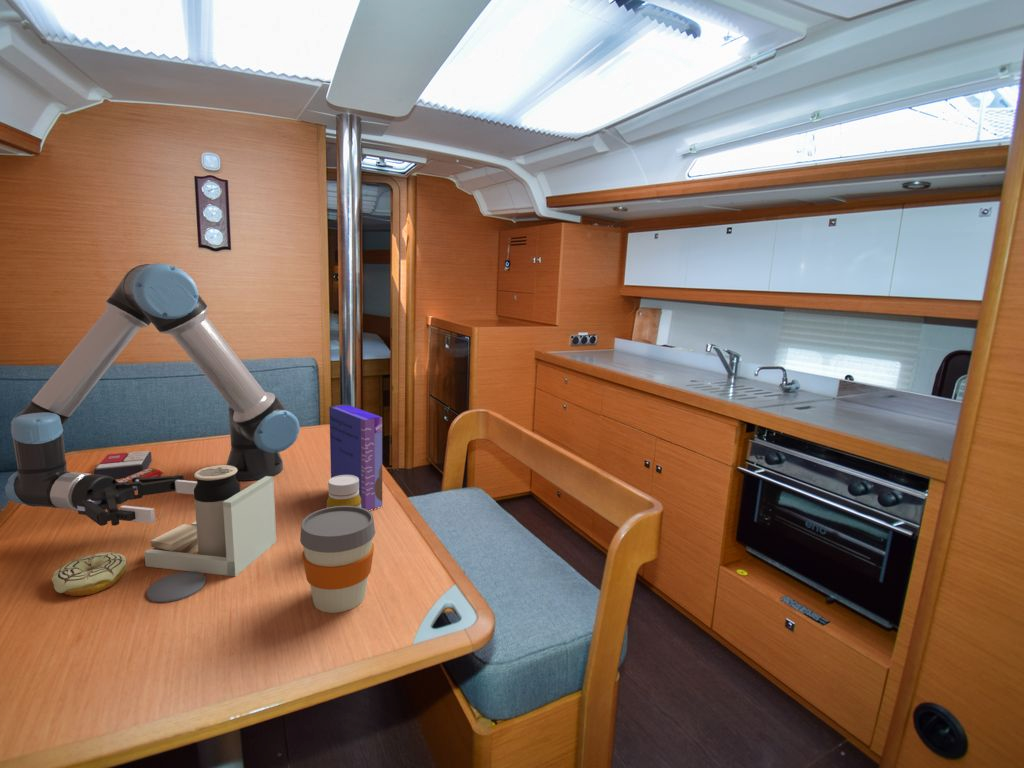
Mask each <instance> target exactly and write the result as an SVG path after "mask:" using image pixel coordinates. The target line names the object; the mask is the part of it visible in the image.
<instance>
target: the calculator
mask: <svg viewBox="0 0 1024 768" xmlns="http://www.w3.org/2000/svg"><path fill="white" fill-rule="evenodd" d="M152 459H153V458H152V452H151V451H149V450H143V451H141V450H140V451H132V452H131V451H130V452H129V453H128V452H119V453H108V454H107V455H106V456H105V457H104V458H103V459H102V460H101V461H100V462H99V464H98V465H96V467H95V468H94V469H93V474H97V475H107V476H110V477H112V478H114V479H115V480H121V478H122V479H123V478H126V477H128V476H131V475H133V474H136V473H138V472H141V471H143V470H145V469H148V468H150V465H151V462H152V461H153V460H152Z"/></svg>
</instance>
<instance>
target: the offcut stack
mask: <svg viewBox="0 0 1024 768" xmlns="http://www.w3.org/2000/svg"><path fill="white" fill-rule="evenodd" d="M150 546H151V548H152V549H153V550H162V551H171V552H181V553H190V554H195V553H196V552H197V551H198V540H197V527H196V526H191V524H186V523H185V524H184V523H183V524H180V525H179V526H177V527H175V528H172V529H170V530H169V531H167V532H165V533H163V534H161V535H159V536H156V537H155V538H153V539H151V540H150Z"/></svg>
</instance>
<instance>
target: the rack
mask: <svg viewBox="0 0 1024 768" xmlns="http://www.w3.org/2000/svg"><path fill="white" fill-rule="evenodd" d="M274 485H275V484H274V476H265V477H264V478H262V479H258V480H257V481H255V482H254V483H252V484H250V485H249V486H248V487H246V488H244V489H241V490H240V492H239V493H237V494H235V495H234V496H232V497H230V498H229V499H227V500H225V501H224V502H223V511H224V527H225V542H226V557H217V556H208V555H199V553H193V554H190V553H181V552H171V551H162V550H153V548H151V549H150V548H149V549H147V550H146V551H144V553H143V554H144V562H145V564H144V565H145V567H149V568H157V569H158V568H159V569H166V570H176V571H182V572H199V573H201V574H211V575H217V576H218V575H220V576H228V577H236V576H238V575H239V574H241V572H242V571H244V570H245V569H246V568H247V567H249V566H250V565H251V564H252V563H253V562H255V561H256V560H257V559H258V558H259V557H260V556H262V555H263V554H264V553H265V552H266V551H268V550H269V549H270V548H271V547H273V546H274V545H275V544H277V532H276V531H277V529H276V528H277V527H276V526H277V525H276V507H275V491H274V490H275V486H274ZM190 525H191V526H196V520H194V522H191V523H190Z"/></svg>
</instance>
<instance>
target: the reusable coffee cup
mask: <svg viewBox="0 0 1024 768" xmlns="http://www.w3.org/2000/svg"><path fill="white" fill-rule="evenodd" d="M300 526H301V528H300V536H299V540H300V544H301V545H302V547H303V551H302V554H301V555H302V556H301V557H302V562H303V566H304V567H303V568H304V573H305V576H306V577H305V578H306V582H307V583H308V584H309V585H310V590H311V596H312V602H313V603H312V604H313V606H314V607H315V608H316V609H317V610H319V611H321V612H324V613H327V614H328V613H330V614H331V613H333V614H335V613H336V614H337V613H338V614H339V613H343V612H347V611H350V610H353V609H354V608H357V607H358V606H359V605H361V603H362V602H363V601H364V600H365V598H366V594H367V586H368V579H369V578H368V577H369V575H370V574H371V571H372V566H373V556H374V549H375V546H374V543H373V538H374V537H375V534H376V530H375V529H376V526H375V521H374V514H373V513H372V511H369V510H366V509H364V508H361V507H356V506H335V507H329V508H327V507H326V508H325V507H324V508H322V509H317V510H316V511H313V512H312V513H310V514H308V515H307V516H305V518H303V520H302V521H301V525H300Z"/></svg>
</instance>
